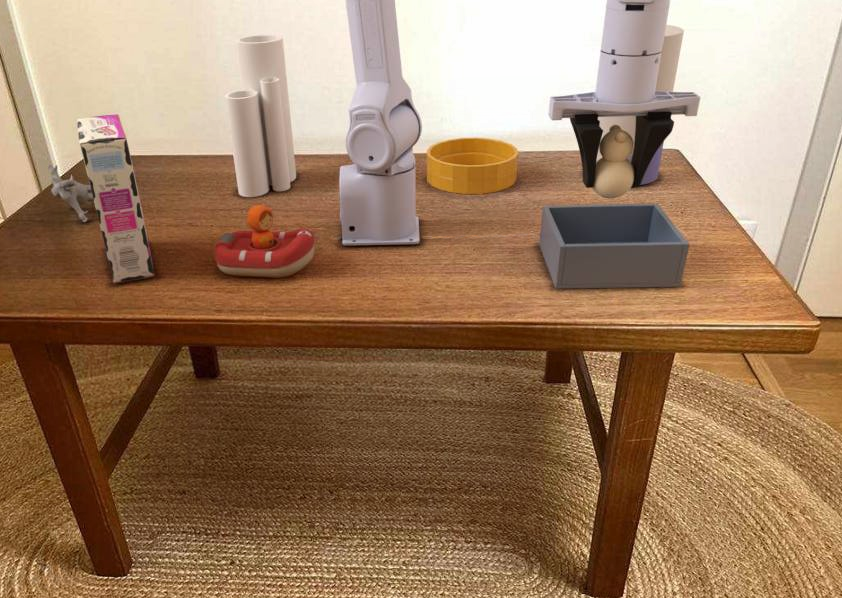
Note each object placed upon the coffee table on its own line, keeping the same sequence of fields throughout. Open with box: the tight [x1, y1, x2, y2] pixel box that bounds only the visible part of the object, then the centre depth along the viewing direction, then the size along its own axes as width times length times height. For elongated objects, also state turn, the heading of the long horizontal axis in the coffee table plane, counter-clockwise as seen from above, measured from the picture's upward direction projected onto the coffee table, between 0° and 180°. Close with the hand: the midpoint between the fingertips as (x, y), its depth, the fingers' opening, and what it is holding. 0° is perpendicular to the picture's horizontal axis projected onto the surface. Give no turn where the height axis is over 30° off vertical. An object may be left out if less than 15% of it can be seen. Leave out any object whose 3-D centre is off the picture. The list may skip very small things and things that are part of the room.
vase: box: [224, 34, 297, 198], centre depth 104 cm, size 11×7×20 cm, turn 166°
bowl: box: [426, 137, 520, 195], centre depth 105 cm, size 13×13×4 cm
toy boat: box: [214, 204, 315, 279], centre depth 83 cm, size 8×12×8 cm, turn 81°
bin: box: [538, 203, 691, 290], centre depth 81 cm, size 13×11×5 cm
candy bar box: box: [76, 114, 156, 284], centre depth 84 cm, size 11×5×16 cm, turn 21°
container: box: [596, 24, 685, 187], centre depth 101 cm, size 10×10×20 cm
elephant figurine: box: [47, 163, 94, 223], centre depth 102 cm, size 10×6×9 cm
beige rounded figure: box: [591, 125, 635, 199], centre depth 77 cm, size 5×5×8 cm
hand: (611, 184), depth 78 cm, fingers closed on beige rounded figure, 4 cm apart
